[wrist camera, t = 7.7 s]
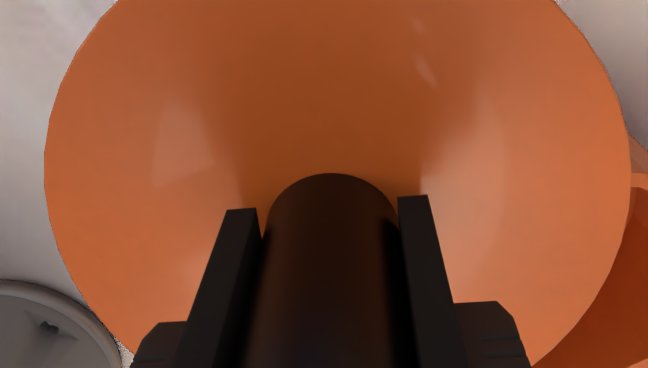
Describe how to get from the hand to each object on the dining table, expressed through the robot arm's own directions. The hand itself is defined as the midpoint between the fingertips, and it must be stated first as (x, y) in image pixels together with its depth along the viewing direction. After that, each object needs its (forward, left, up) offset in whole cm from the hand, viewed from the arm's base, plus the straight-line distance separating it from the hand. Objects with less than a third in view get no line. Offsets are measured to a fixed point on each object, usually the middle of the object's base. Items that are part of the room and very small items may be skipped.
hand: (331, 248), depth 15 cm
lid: (0, 0, -1) cm, 1 cm away
